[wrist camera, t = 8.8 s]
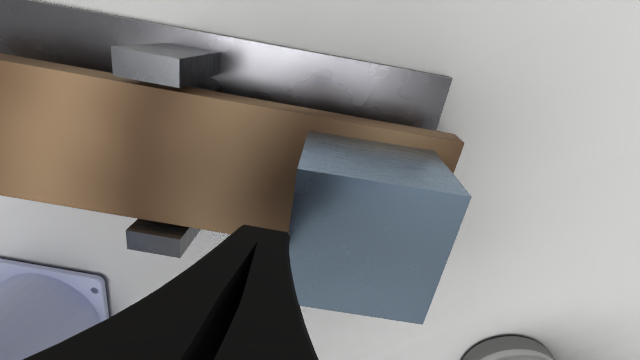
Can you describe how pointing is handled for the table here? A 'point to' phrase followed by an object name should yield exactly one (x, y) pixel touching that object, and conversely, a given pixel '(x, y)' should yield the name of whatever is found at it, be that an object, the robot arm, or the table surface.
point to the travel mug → (509, 350)
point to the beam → (165, 146)
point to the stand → (216, 76)
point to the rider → (372, 226)
